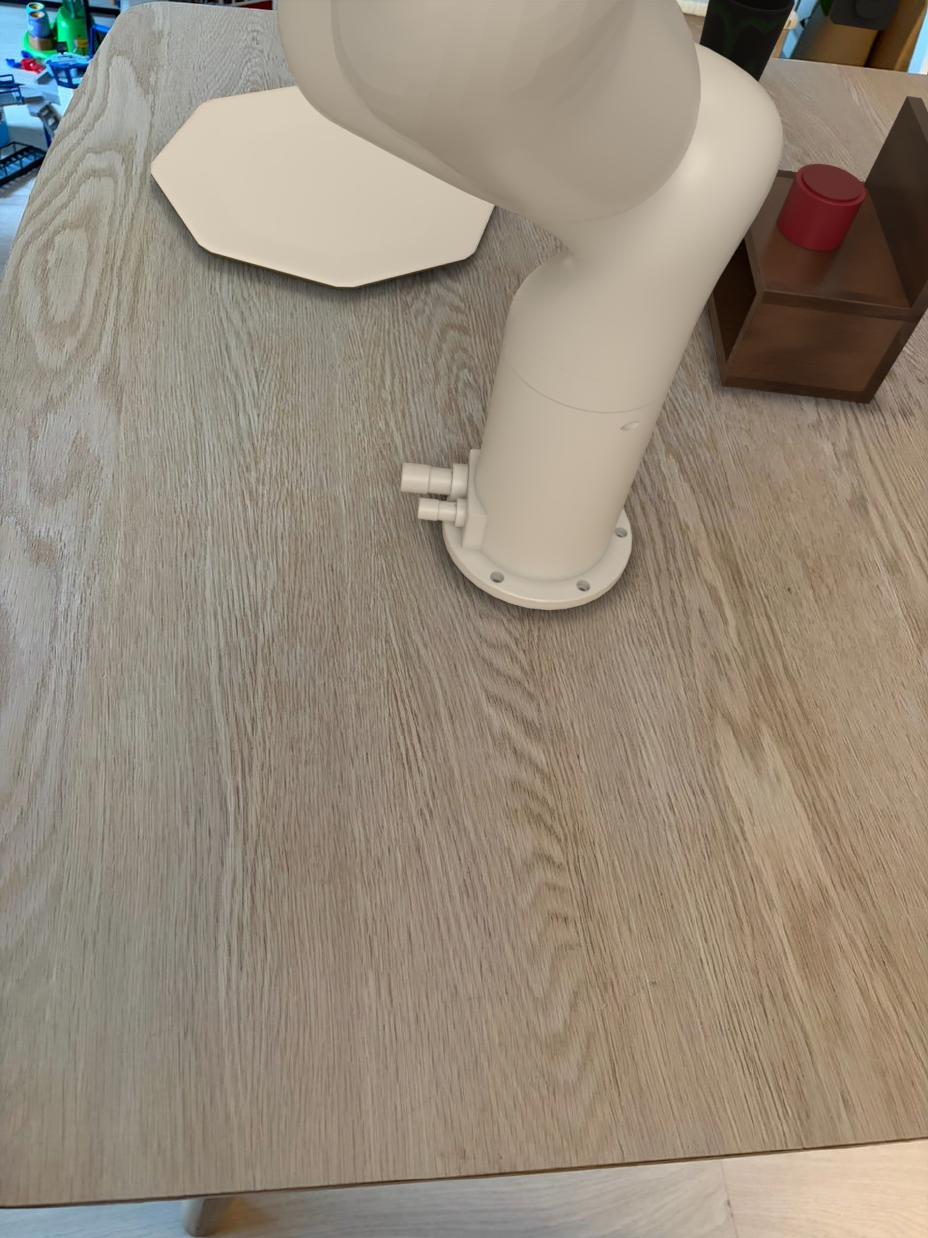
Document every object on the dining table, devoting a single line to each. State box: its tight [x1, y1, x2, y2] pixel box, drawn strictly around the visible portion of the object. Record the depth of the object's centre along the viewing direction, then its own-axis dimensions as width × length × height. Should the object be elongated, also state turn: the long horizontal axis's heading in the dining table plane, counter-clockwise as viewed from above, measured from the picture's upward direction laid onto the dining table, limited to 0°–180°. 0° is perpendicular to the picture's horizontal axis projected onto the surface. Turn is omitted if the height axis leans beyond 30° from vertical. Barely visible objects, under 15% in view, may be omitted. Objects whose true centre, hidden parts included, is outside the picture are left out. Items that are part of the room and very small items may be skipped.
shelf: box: [706, 95, 928, 405], centre depth 78 cm, size 12×16×16 cm
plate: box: [150, 85, 496, 290], centre depth 87 cm, size 28×28×2 cm
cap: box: [777, 163, 866, 251], centre depth 76 cm, size 5×5×4 cm
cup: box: [698, 0, 796, 83], centre depth 98 cm, size 8×8×12 cm
